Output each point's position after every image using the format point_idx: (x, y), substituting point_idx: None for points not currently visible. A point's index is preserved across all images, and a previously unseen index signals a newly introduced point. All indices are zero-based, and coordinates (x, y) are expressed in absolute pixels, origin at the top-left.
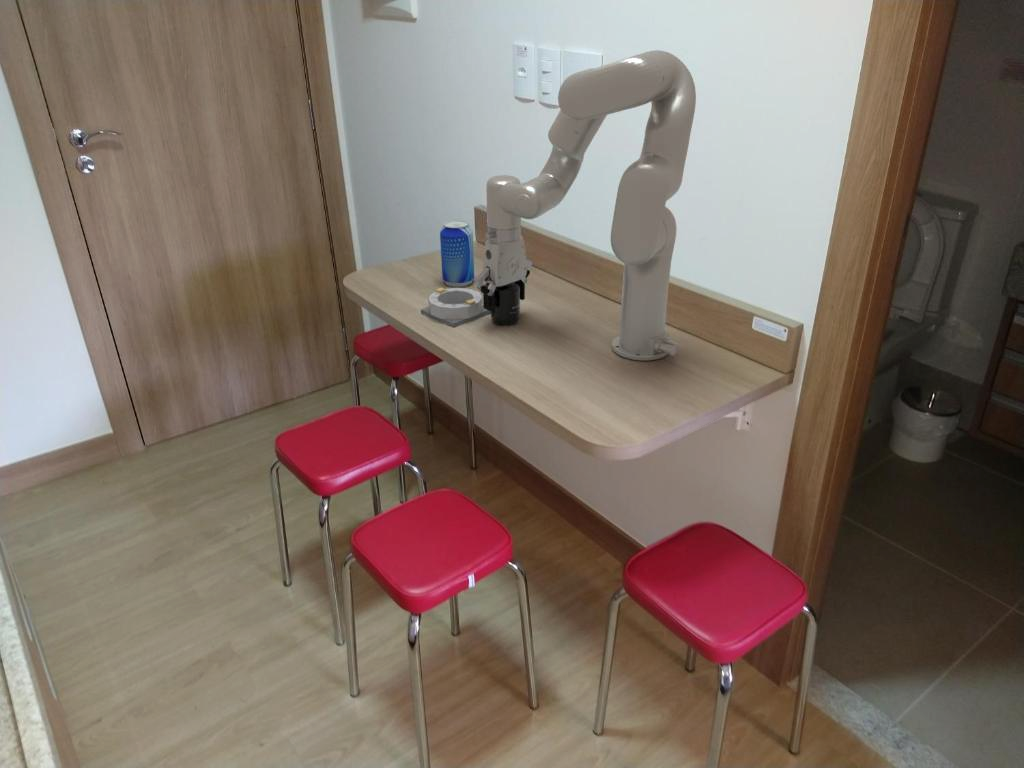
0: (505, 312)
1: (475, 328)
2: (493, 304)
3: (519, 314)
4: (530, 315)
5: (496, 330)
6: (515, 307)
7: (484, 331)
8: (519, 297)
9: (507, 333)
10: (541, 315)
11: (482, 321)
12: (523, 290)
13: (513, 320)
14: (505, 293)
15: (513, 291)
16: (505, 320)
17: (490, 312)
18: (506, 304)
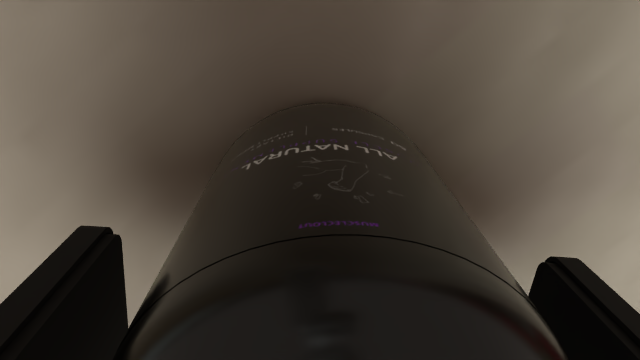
0: (444, 184)
1: None
2: (621, 302)
3: (261, 130)
4: (101, 130)
5: (498, 149)
6: (350, 145)
7: (555, 201)
8: (236, 205)
9: (503, 43)
10: (24, 56)
11: None
12: (41, 294)
13: (362, 113)
14: (548, 332)
15: (430, 275)
16: (423, 155)
17: None
18: (467, 218)
